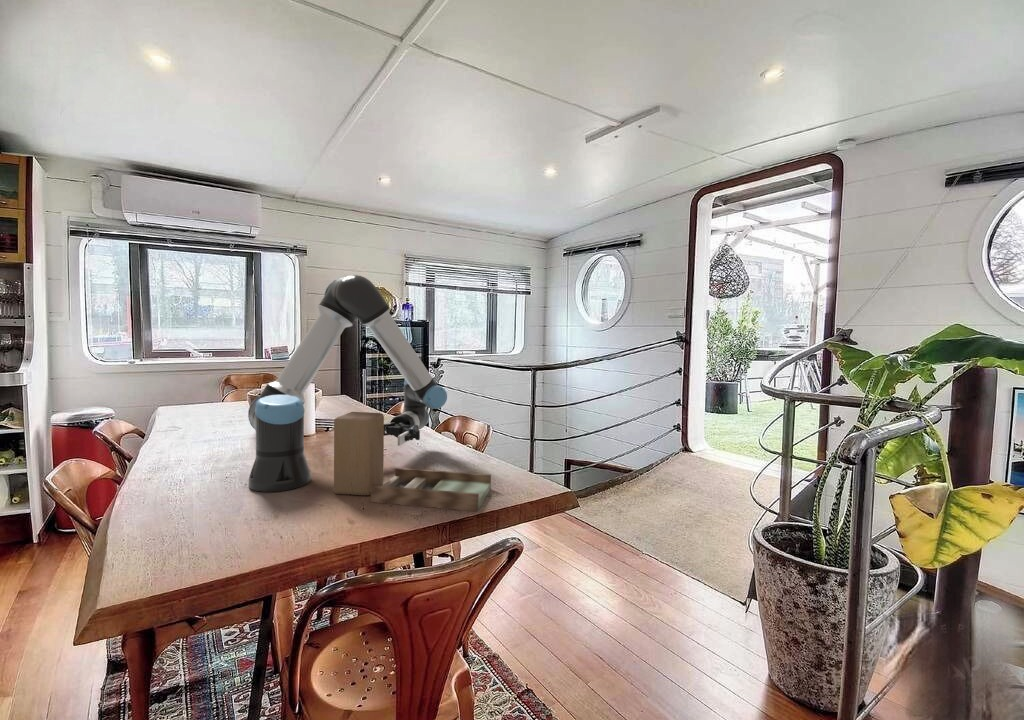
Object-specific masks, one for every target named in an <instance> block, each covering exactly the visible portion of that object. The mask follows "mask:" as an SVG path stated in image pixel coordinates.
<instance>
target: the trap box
mask: <svg viewBox="0 0 1024 720" xmlns="http://www.w3.org/2000/svg"><path fill="white" fill-rule="evenodd" d="M394 469H395V470H394V476H393V477H391V478H390V479H389V480H387V481H386V482H385V483H383V484H382V485H381V486H378V485H372V486H371V495H370V503H373V502H377V503H376V504H385V503H390V504H389V505H397V504H400V505H399V506H409V505H410V507H420V506H424V507H425V508H432V507H438V508H437V509H444V508H448V510H455V511H456V510H457V511H468V512H469V511H470V512H478V511H479V510H480V508H481V507H482V504H483V503H484V502H485V499H486V498H487V496H488V495H489V493H490V491H491V489H492V488H491V487H492V486H491V485H492V483H491V482H492V474H490V473H489V474H488V473H475V472H460V471H449V470H448V471H447V470H435V469H434V470H433V469H419V468H407V467H406V468H405V467H395V468H394ZM488 492H489V493H488ZM424 507H423V508H424ZM439 507H440V508H439Z"/></svg>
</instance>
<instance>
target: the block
mask: <svg viewBox="0 0 1024 720" xmlns="http://www.w3.org/2000/svg"><path fill="white" fill-rule="evenodd" d="M384 424H385V416H384V413H381V412H364V411H363V412H362V411H351V412H348V413H345V414H343V415H340V416H337V417H335V418H334V421H333V430H334V431H333V492H334V494H336V495H350V494H351V495H352V496H366V495H367V496H371V486H372V485H378V486H382V485H384V462H385V461H384V455H385V454H384V453H385V452H384V451H385V450H384V447H385V443H384V439H385V438H384V437H385V436H384Z"/></svg>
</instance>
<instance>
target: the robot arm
mask: <svg viewBox="0 0 1024 720" xmlns="http://www.w3.org/2000/svg"><path fill="white" fill-rule="evenodd" d="M317 309H318V311H319V312H318V313H319V314H318V316H316V318H315V319H314V321H313V323H312V324H311V326H310V327H309V329H308V331H306V334H305V335H304V337H303V338H302V340H301V342H300V343H299V344H298V346H297V348H296V349H295V351H294V353H292V355H291V357H290V358H289V360H288V362H287V363H286V365H285V367H284V368H283V370H282V371H281V372H280V374H279V375H278V377H277V378H276V380H275V381H271V382H268V383H267V384H266V386H265V387H264V389H263V390H262V391H261V393H260V395H258V396H257V397H256V398H255V399H254V400H253V401H252V402H251V403H250V406H249V408H248V410H247V411H248V414H247V418H248V422H249V424H250V426H251V427H252V429H254V431H255V458H254V462H253V464H252V467H251V471H250V473H249V475H248V476H249V477H248V488H249V489H250V490H253V491H256V492H264V493H268V492H269V493H273V492H281V491H282V492H285V491H290V490H293V489H298V488H302V487H304V486H305V485H307V484H309V483H310V482H311V479H312V477H311V476H312V475H311V469H310V468H309V467H310V466H309V464H308V460H307V458H306V456H305V444H304V443H305V442H304V441H305V440H304V439H305V437H304V436H305V435H304V434H305V431H304V430H305V427H304V426H305V424H304V423H305V421H304V419H305V407H304V405H305V403H306V399H305V397H304V396H305V393H306V391H307V390H308V388H309V387H310V385H311V383H312V382H313V380H314V378H315V377H316V375H317V373H318V372H319V370H320V369H321V367H322V365H323V364H324V362H325V361H326V359H327V358H328V356H329V354H330V353H331V351H332V349H333V348H334V346H335V344H336V343H337V342H338V340H339V339H340V337H341V335H342V333H344V330H345V329H346V328H350V327H353V325H354V324H355V322H356V320H357V319H358V321H359V322H360V323H361V325H362V326H366V327H367V328H368V329H369V330H370V332H371V333H372V334H373V336H374V338H375V339H376V340H377V341H378V343H379V344H380V345H381V347H382V349H383V350H384V351H385V353H386V354H387V356H388V357H389V359H390V360H391V361H392V362H393V365H394V366H395V367H396V369H397V370H398V371H399V373H400V374H401V376H402V377H403V378H404V382H403V384H404V385H403V389H404V390H403V392H404V393H403V394H404V398H403V399H404V400H403V402H404V403H403V405H404V406H403V412H402V413H399V414H398V415H395V416H394V417H393V418H392V419H391V420H390V421H389V423H384V437H385V436H393V437H395V438H397V446H402V445H404V444H405V443H407V442H409V441H414V440H417V441H420V439H421V436H420V435H421V434H420V433H421V432H420V430H421V429H423V428H424V427H425V426H426V425H427V424H428V423H429V421H430V413H429V411H428V409H427V408H429V409H433V410H436V409H437V410H438V409H441V408H442V407H444V406H445V405H446V402H447V401H448V393H447V391H446V389H445V388H444V387H442V386H441V385H438V384H437V382H436V381H435V378H434V377H432V375H431V373H430V372H429V371H428V369H427V368H426V366H425V364H424V362H423V361H422V360H421V358H420V357H419V356H418V354H417V353H416V351H415V350H414V348H413V346H412V345H411V343H410V342H409V341H408V339H407V338H406V336H405V334H404V333H403V332H402V330H401V328H400V327H399V325H398V324H397V323H396V321H395V320H394V318H393V316H392V315H391V313H390V310H391V308H390V306H389V304H388V302H387V301H386V299H385V298H384V297H383V295H382V293H381V292H380V291H379V289H378V288H377V287H376V285H375V284H374V283H373V282H372V281H370V280H369V279H368V278H367V277H365V276H362V275H360V274H359V275H357V274H352V275H347V276H345V277H340V278H339V277H338V278H337V279H334V280H333V281H331V282H330V284H328V285H327V287H326V288H325V292H324V296H323V298H322V299H321V301H320V303H319V304H318V306H317Z"/></svg>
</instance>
